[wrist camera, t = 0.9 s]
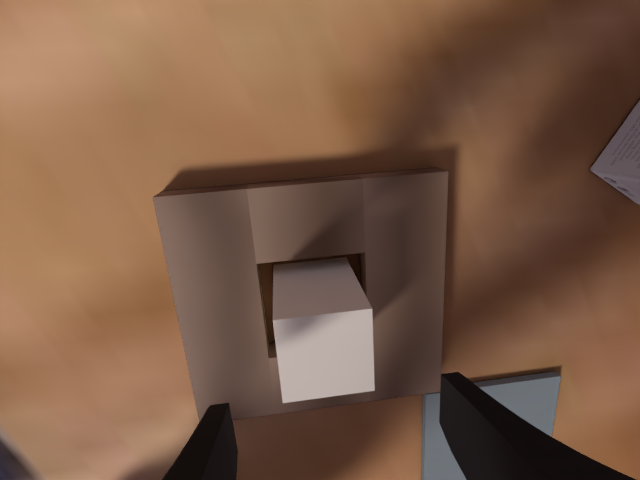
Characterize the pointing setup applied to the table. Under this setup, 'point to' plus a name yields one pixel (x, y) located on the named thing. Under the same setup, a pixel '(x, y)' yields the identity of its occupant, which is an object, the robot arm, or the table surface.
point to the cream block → (322, 330)
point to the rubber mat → (514, 393)
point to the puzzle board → (302, 243)
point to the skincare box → (623, 158)
